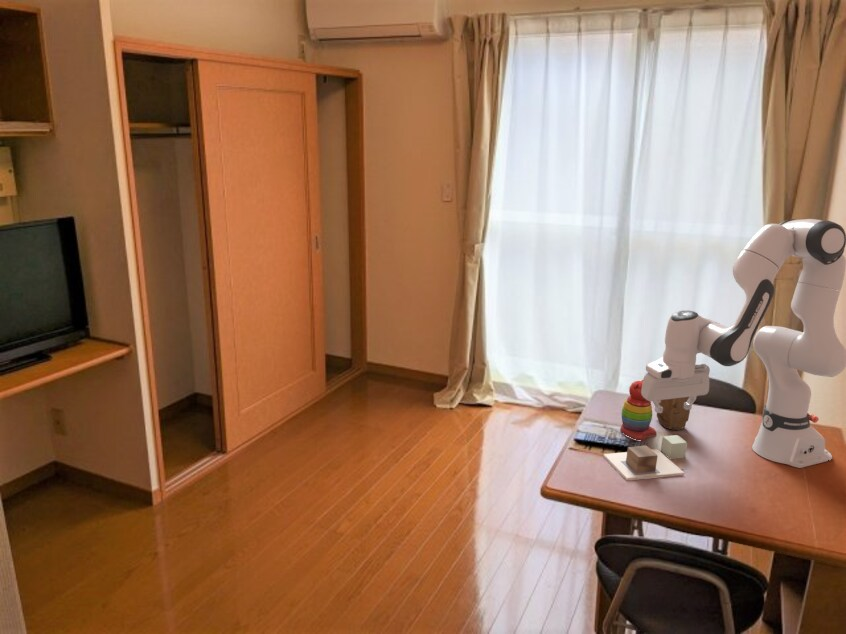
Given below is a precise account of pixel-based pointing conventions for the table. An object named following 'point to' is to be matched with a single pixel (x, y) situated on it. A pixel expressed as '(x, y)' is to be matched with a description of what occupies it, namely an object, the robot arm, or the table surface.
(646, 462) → the walnut cube
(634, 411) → the stacking bear
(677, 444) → the sage cube
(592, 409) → the table surface
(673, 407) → the block
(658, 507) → the table surface
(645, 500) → the table surface
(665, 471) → the white flat board
